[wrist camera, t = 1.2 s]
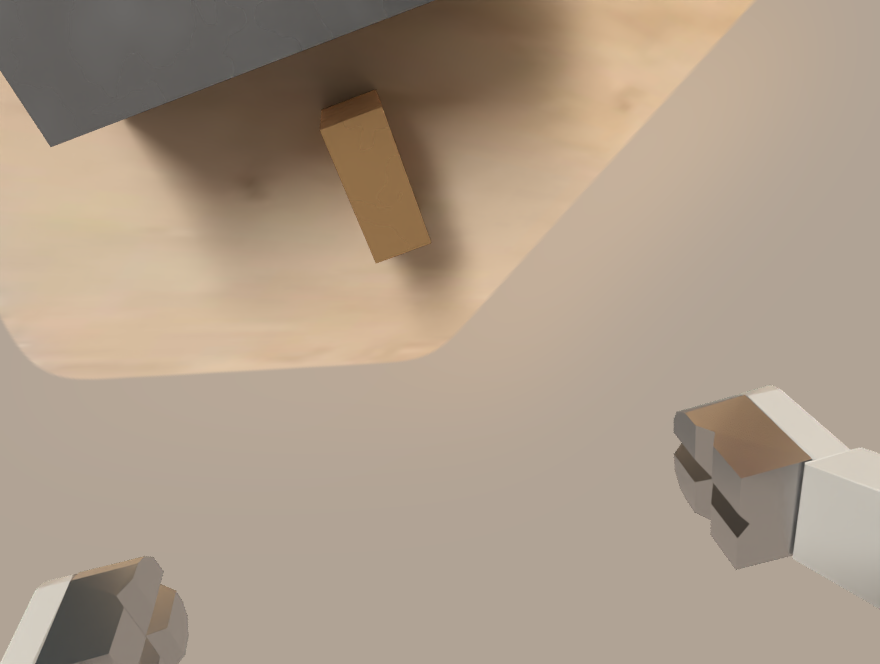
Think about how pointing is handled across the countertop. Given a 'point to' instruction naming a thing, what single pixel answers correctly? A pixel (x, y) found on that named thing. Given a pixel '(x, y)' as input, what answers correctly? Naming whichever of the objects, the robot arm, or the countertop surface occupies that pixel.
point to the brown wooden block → (373, 176)
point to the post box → (154, 50)
